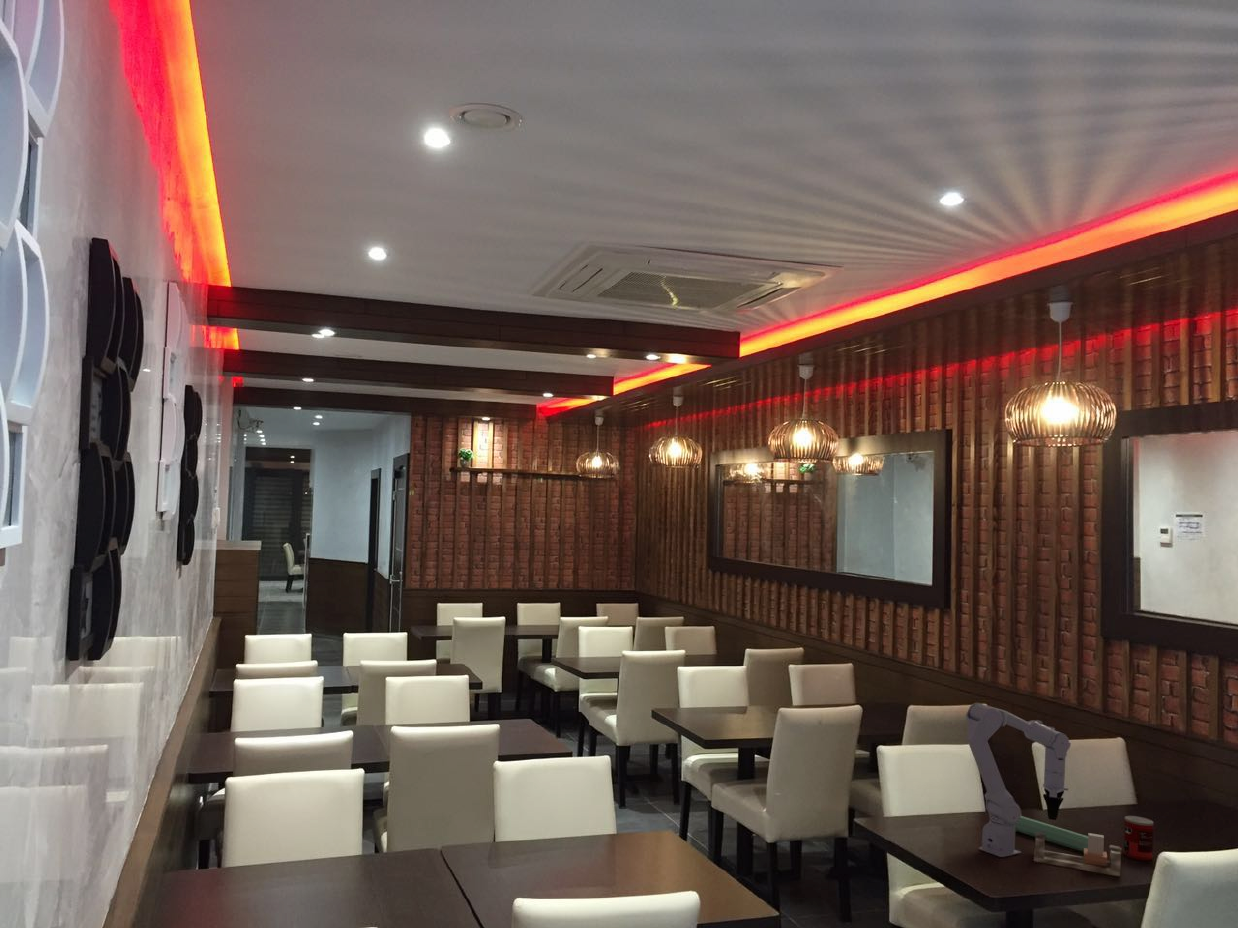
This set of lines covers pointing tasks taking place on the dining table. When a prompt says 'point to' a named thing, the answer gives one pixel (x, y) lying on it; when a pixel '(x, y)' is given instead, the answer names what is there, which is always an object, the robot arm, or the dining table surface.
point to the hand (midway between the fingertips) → (1052, 816)
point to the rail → (1076, 858)
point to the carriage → (1095, 850)
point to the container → (1052, 833)
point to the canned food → (1138, 837)
